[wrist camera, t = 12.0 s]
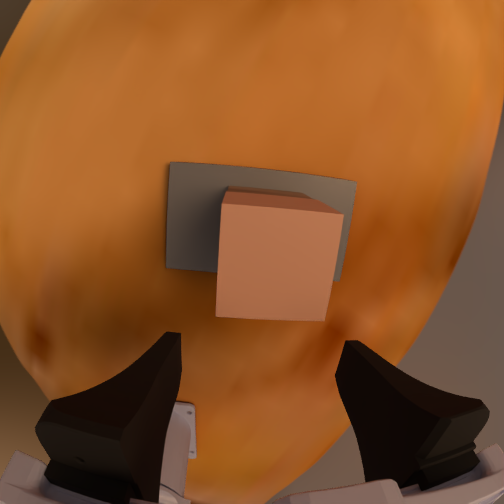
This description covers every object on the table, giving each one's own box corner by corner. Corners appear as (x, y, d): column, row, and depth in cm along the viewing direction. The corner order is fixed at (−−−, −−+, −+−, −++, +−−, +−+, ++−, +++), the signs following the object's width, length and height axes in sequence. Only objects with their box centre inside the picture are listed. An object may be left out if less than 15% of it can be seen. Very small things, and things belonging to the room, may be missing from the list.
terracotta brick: (305, 283, 16) (324, 321, 13) (220, 278, 16) (215, 316, 12) (317, 199, 15) (343, 214, 11) (225, 191, 15) (221, 203, 11)
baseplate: (336, 277, 22) (339, 281, 21) (168, 263, 21) (166, 267, 20) (352, 180, 20) (356, 181, 19) (172, 161, 19) (170, 162, 18)
